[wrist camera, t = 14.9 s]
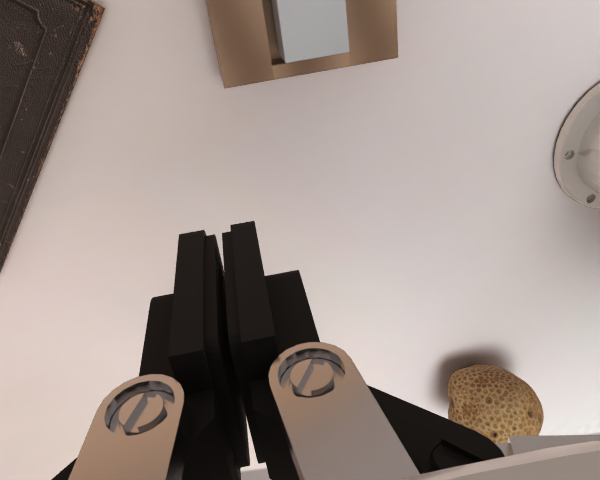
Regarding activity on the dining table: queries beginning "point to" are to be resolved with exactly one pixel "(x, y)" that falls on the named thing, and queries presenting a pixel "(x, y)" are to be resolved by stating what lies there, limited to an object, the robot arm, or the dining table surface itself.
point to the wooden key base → (264, 47)
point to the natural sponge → (494, 403)
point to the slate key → (310, 28)
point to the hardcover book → (35, 91)
